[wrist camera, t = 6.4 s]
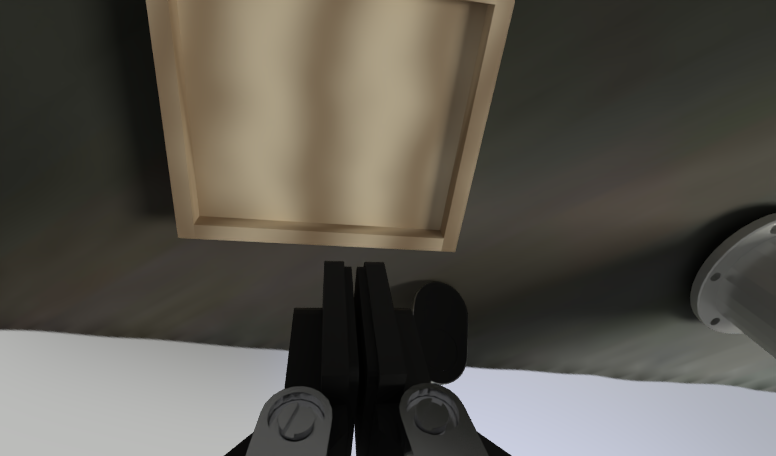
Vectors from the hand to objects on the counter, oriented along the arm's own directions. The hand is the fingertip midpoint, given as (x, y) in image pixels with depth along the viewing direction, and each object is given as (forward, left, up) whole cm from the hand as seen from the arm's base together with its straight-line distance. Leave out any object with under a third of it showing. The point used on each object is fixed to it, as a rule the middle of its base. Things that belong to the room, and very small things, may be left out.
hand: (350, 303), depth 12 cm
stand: (-8, +15, -20) cm, 26 cm away
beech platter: (+1, -1, -18) cm, 18 cm away
